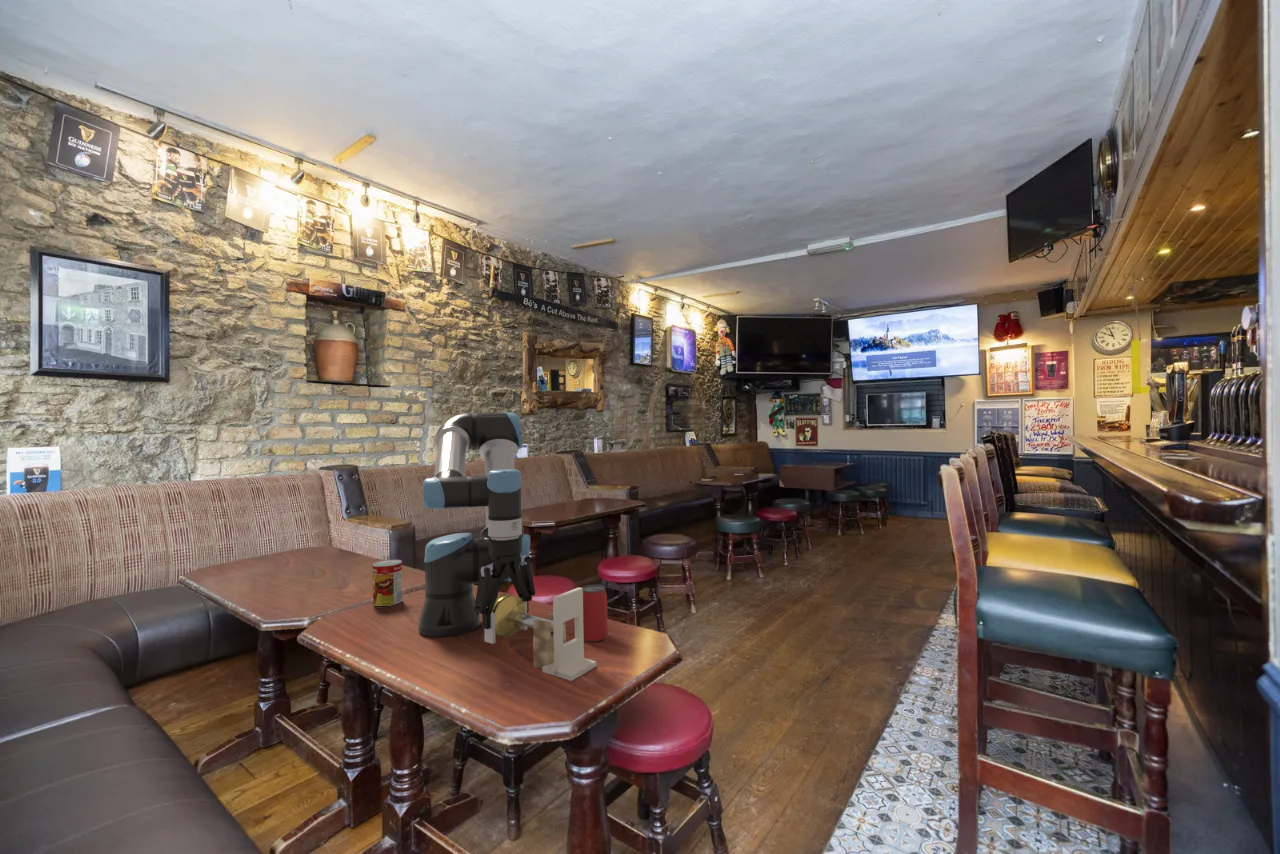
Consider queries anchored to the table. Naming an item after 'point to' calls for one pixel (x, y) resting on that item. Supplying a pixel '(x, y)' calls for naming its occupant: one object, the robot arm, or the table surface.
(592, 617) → the beer can
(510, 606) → the gold disc on rod
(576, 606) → the beige slotted stand
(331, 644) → the table surface
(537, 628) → the cradle
